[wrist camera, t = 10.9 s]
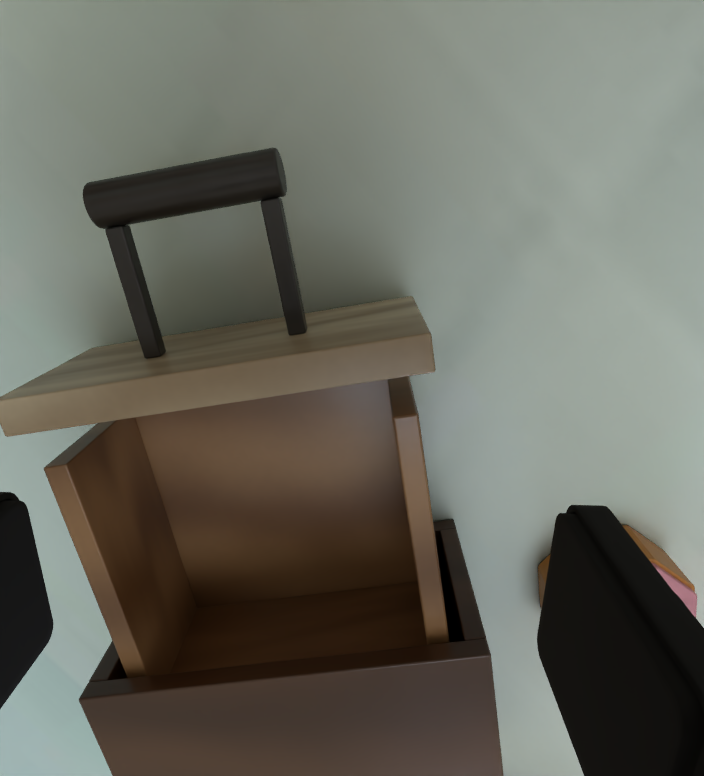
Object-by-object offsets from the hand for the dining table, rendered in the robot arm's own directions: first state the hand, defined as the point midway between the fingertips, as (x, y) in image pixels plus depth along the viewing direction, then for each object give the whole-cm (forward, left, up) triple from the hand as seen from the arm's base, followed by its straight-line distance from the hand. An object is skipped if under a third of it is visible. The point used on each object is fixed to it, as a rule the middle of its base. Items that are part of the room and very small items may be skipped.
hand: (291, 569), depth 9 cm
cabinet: (+16, -3, -14) cm, 22 cm away
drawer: (+2, -3, -13) cm, 14 cm away
